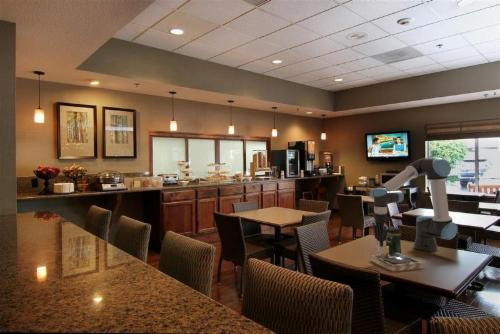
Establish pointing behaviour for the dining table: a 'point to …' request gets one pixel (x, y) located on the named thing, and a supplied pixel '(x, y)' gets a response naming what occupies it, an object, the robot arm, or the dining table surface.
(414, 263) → the square tray
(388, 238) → the coffee jar
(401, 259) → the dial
